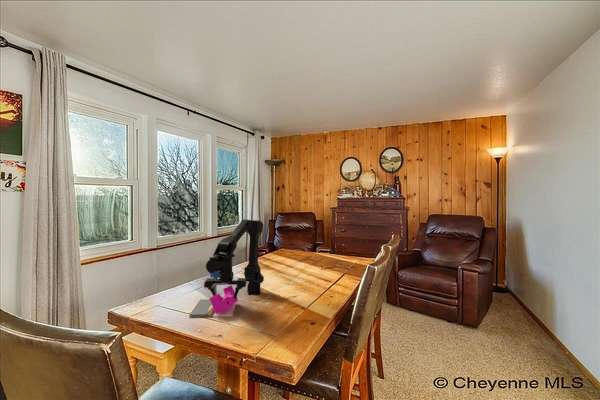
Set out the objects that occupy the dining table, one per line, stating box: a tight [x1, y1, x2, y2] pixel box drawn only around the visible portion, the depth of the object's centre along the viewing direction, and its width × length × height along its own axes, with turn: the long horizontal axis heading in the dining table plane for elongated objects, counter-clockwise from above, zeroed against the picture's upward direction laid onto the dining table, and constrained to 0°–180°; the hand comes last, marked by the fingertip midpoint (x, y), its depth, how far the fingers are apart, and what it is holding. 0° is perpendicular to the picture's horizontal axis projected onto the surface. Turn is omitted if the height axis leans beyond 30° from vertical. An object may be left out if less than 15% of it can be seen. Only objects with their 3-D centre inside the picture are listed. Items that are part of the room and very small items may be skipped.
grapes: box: [209, 271, 220, 280], centre depth 177 cm, size 12×7×12 cm, turn 145°
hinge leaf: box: [188, 298, 215, 318], centre depth 132 cm, size 9×18×2 cm, turn 5°
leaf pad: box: [211, 301, 238, 318], centre depth 132 cm, size 8×17×1 cm, turn 5°
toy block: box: [208, 285, 239, 314], centre depth 131 cm, size 15×6×8 cm, turn 168°
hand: (225, 300), depth 132 cm, fingers closed on toy block, 8 cm apart
